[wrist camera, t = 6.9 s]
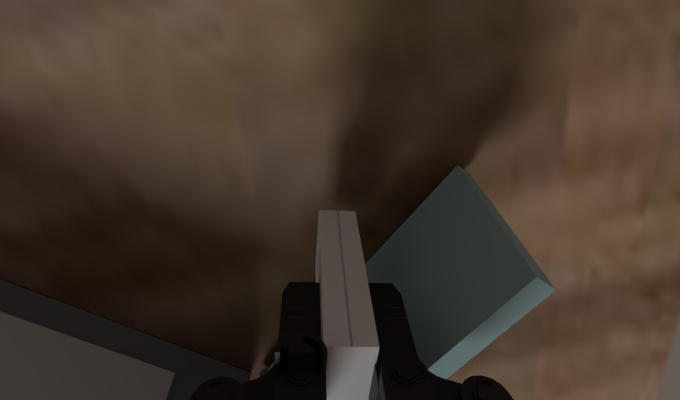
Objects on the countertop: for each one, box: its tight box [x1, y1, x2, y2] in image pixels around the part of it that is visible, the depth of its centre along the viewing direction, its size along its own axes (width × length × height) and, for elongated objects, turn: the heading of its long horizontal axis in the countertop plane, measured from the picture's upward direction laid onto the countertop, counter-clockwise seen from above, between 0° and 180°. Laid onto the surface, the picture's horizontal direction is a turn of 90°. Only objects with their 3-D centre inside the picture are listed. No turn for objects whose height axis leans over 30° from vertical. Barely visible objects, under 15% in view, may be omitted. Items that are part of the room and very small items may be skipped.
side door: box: [260, 165, 556, 379], centre depth 17 cm, size 16×2×7 cm, turn 144°
